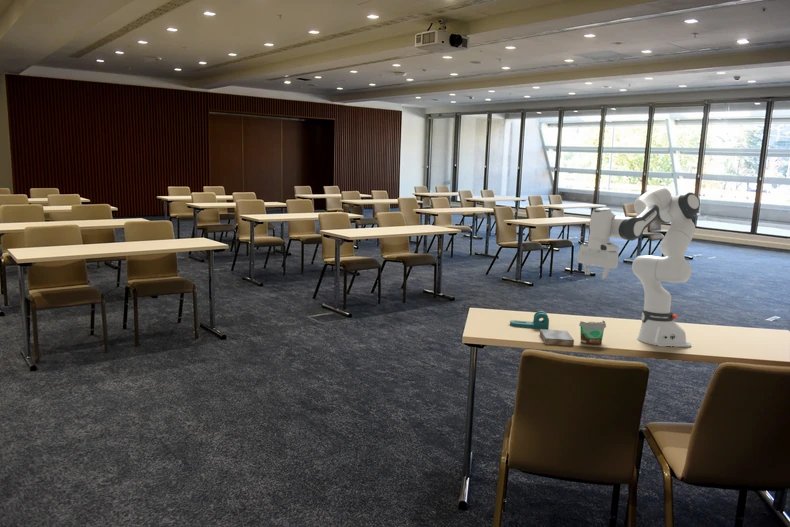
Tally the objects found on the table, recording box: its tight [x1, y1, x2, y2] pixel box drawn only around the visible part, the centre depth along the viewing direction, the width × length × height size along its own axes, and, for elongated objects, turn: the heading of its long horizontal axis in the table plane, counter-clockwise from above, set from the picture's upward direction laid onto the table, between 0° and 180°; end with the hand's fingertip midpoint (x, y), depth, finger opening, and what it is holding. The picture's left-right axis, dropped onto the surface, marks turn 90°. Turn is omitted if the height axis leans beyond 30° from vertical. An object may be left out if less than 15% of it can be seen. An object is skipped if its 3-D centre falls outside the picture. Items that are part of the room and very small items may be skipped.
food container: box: [578, 320, 607, 346], centre depth 266 cm, size 12×6×10 cm, turn 105°
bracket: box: [509, 310, 550, 330], centre depth 294 cm, size 18×7×8 cm, turn 80°
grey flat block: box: [539, 329, 575, 347], centre depth 270 cm, size 12×16×3 cm
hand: (595, 276), depth 268 cm, fingers open, 8 cm apart
